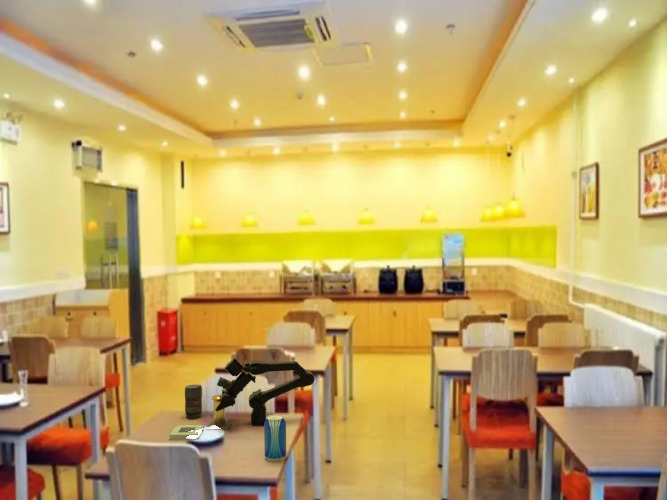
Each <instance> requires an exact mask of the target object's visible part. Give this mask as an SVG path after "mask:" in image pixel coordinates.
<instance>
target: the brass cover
mask: <svg viewBox="0 0 667 500" xmlns="http://www.w3.org/2000/svg"><path fill="white" fill-rule="evenodd" d="M222 396H223V395H222V394H216V395H215V394H214V395H212V399H211V400H212V401H213V421H214V425H216V426H218V427H219V426H224V425H225V421H226V408H224V409H222V410H219V411H215V409H216V408H217V406H218V405H219V403H220V402H221V401H222Z"/></svg>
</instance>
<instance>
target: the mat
mask: <svg viewBox="0 0 667 500" xmlns="http://www.w3.org/2000/svg"><path fill="white" fill-rule="evenodd" d="M232 424H233V421H232V420H227V421H226V420H225V425H224V426H219V428H221V429H223V430H226V431H227V430H230V428H231V426H232ZM211 425H214V420H213V421H212V420H211V421H210V422H209V423H208V425H207V427H209V426H211ZM207 427H206V428H207Z"/></svg>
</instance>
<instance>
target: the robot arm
mask: <svg viewBox="0 0 667 500" xmlns="http://www.w3.org/2000/svg"><path fill="white" fill-rule="evenodd" d="M223 369H224V370H225V371H226V372H227V373H229V374H230V375H231V376H232V377H236V378H235V379H232V380H229V379H227V378H224V377H221V376H220V377H219V378H218V381H217V382H216V383H217V384H216V386H217V387H221V388H222V389H221V395H223V396H222V401H221V402H220V403H219V405H218V406H217V408H216V409H215V411H219V410H222V409H224V408H225V409H227V408H229V407H234V406H235V405H236V399H237V397H238V395H240V393H241V392H243V391H244V389H245V388H246V387H247V385H249V384H250V382H253V383H256V376H258V375H262V374H265V373H270V372H285V371H287V372H288V371H289V372H291V371H293V372H295V373H296V374H297V375H296V376H295V377H294V378H292V379H289V380H288V381H286V382H283V383H281V384H279V385H277V386H274V387H273V388H270V389H267V390H264V391H263V390H261V389H262V388H260V389H257V390H256V391H252V393H251V394H249V397H248V405H249V408H251V409H252V411H251V413H250V423H251V426H264V423H265V421H266V419H267V405H266V403H268V402H269V401H271V400H272V399H275V398H276V397H279V396H281V395H284V394H286V393H288V392H290V391H292V390H295V389H298V388H305V387H308V386H311V385H313V384H314V382H315V377H314V374H313V373H312V372H311V371H310V370H307V369H306V368H305V367H303V366H302V365H301V364H300V363H299V362H298V361H296V360H292V361H269V362H268V361H263V360H257V359H256V360H255V359H253V360H251V361H250V362H249V363H241V362H240V361H239V360H238V359H237V357H234V358H233V359H231V360H230V361H228V362H227V364H226V365H225V366H224V367H223Z"/></svg>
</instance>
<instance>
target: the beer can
mask: <svg viewBox="0 0 667 500" xmlns="http://www.w3.org/2000/svg"><path fill="white" fill-rule="evenodd" d="M263 426H264V427H263V428H264V429H263V431H264V433H263V435H264V436H263V437H264V438H263V439H264V440H263V441H264V443H263V444H264V445H263V446H264V449H263V450H264V457H265V459H266V460H267V461H268V462H275V463H276V462H280V461H283V460H285V458H286V456H287V421H286V420H285V418H284V415H283V414H270V415H266V421H265V423H264V425H263Z"/></svg>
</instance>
